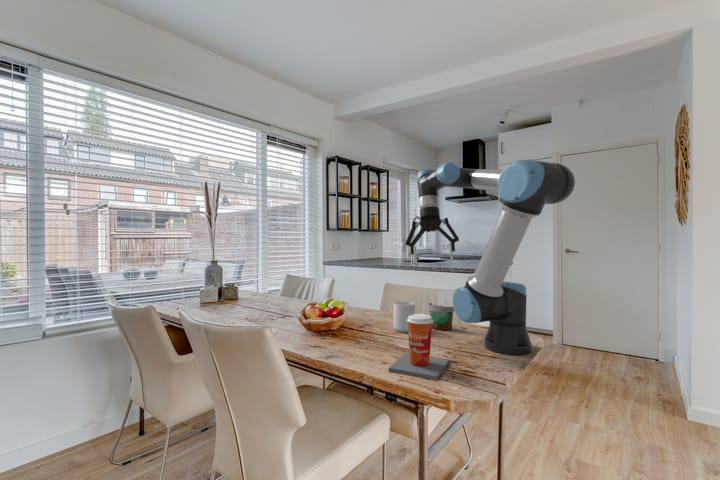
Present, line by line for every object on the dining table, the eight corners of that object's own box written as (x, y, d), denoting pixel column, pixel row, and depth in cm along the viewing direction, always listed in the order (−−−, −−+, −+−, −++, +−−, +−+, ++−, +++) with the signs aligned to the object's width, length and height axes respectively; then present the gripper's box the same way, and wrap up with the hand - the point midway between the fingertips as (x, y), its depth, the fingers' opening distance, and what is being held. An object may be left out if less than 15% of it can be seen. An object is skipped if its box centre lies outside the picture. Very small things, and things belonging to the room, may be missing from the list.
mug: (410, 334, 140) (410, 306, 140) (389, 331, 145) (389, 304, 145) (420, 327, 151) (420, 301, 151) (401, 324, 155) (401, 299, 155)
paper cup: (402, 364, 104) (402, 317, 104) (413, 357, 111) (413, 312, 110) (427, 370, 100) (427, 320, 100) (437, 362, 106) (437, 315, 106)
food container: (421, 327, 150) (421, 304, 150) (430, 325, 154) (430, 302, 154) (445, 333, 141) (445, 308, 141) (454, 330, 145) (454, 306, 145)
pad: (448, 363, 108) (448, 360, 108) (436, 379, 96) (436, 376, 95) (404, 356, 114) (404, 353, 114) (388, 371, 102) (388, 367, 102)
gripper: (462, 207, 140) (467, 260, 135) (400, 214, 147) (403, 265, 143) (461, 201, 133) (467, 257, 128) (396, 209, 140) (399, 262, 136)
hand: (433, 261), depth 135 cm, fingers open, 13 cm apart
